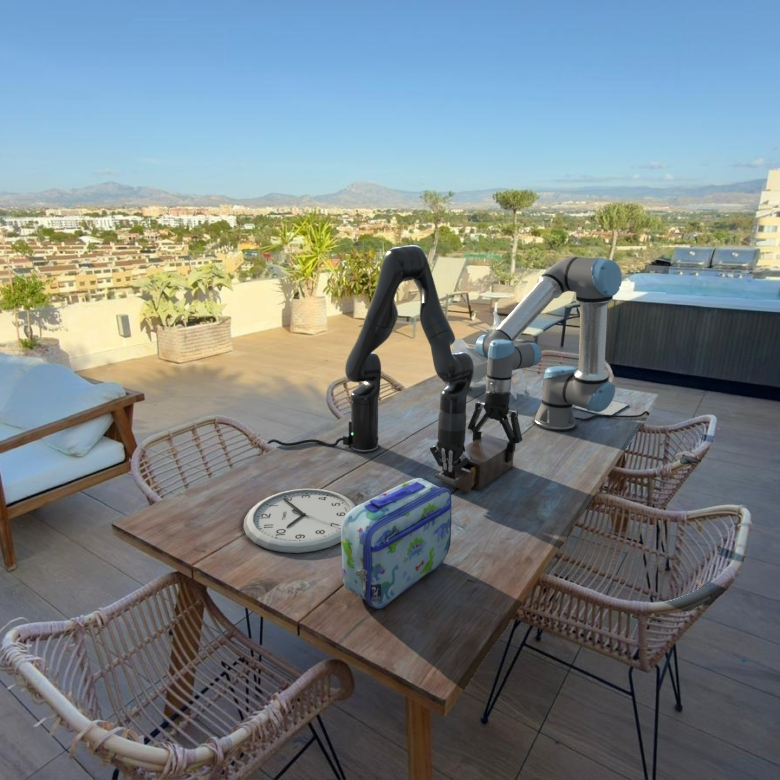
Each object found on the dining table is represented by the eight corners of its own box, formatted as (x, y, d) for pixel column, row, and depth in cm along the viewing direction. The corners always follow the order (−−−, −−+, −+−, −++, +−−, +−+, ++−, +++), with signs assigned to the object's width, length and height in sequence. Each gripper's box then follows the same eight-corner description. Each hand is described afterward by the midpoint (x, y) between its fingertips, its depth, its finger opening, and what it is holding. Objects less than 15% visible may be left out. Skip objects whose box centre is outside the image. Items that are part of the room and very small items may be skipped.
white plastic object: (461, 429, 252) (437, 405, 227) (444, 352, 274) (420, 323, 250) (535, 404, 240) (518, 377, 215) (510, 326, 262) (492, 293, 237)
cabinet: (478, 490, 152) (480, 465, 150) (447, 479, 159) (449, 454, 156) (512, 466, 168) (514, 442, 166) (483, 456, 175) (485, 434, 172)
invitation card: (608, 416, 214) (573, 407, 224) (608, 416, 214) (573, 408, 224) (628, 404, 229) (594, 396, 238) (628, 405, 229) (594, 397, 238)
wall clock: (362, 544, 122) (232, 548, 120) (362, 550, 123) (232, 555, 120) (359, 484, 151) (253, 486, 148) (359, 489, 151) (253, 492, 149)
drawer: (457, 500, 145) (458, 480, 143) (429, 489, 150) (430, 469, 149) (502, 468, 164) (504, 450, 162) (476, 460, 170) (478, 442, 168)
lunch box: (370, 622, 101) (370, 527, 94) (335, 595, 108) (333, 505, 102) (455, 565, 118) (460, 481, 112) (420, 544, 125) (423, 465, 119)
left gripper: (424, 423, 144) (422, 479, 150) (465, 435, 136) (462, 494, 142) (439, 415, 150) (437, 470, 155) (480, 426, 142) (476, 484, 147)
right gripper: (459, 385, 165) (455, 449, 172) (527, 401, 151) (520, 470, 158) (471, 380, 171) (467, 443, 177) (538, 395, 157) (531, 462, 163)
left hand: (449, 481), depth 149 cm, fingers closed
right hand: (492, 456), depth 167 cm, fingers closed on cabinet, 11 cm apart
